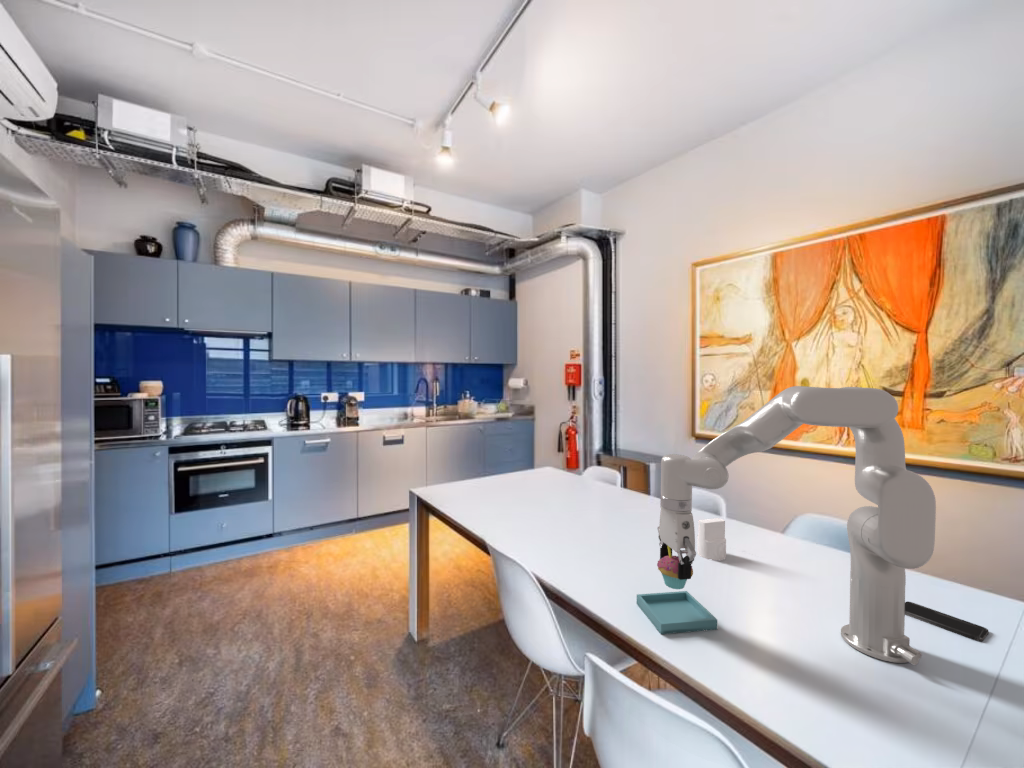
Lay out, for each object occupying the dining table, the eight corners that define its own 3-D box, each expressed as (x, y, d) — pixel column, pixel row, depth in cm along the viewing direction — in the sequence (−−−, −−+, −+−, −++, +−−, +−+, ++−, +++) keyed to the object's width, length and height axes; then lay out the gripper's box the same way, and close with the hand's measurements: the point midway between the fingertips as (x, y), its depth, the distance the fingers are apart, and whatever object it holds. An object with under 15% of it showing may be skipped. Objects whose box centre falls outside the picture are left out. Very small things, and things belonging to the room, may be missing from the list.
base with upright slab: (709, 561, 139) (710, 526, 138) (691, 550, 147) (691, 517, 147) (732, 558, 141) (732, 523, 141) (712, 548, 150) (713, 515, 150)
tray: (717, 629, 101) (717, 619, 101) (661, 634, 100) (661, 624, 99) (686, 599, 115) (686, 590, 115) (636, 603, 113) (636, 594, 113)
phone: (981, 639, 97) (896, 608, 109) (981, 644, 97) (896, 613, 110) (989, 629, 101) (907, 600, 114) (989, 633, 101) (907, 604, 114)
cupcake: (654, 588, 105) (655, 541, 105) (659, 573, 113) (660, 530, 113) (691, 596, 101) (692, 548, 101) (694, 581, 109) (694, 536, 109)
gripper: (709, 514, 99) (708, 586, 99) (672, 493, 116) (671, 555, 116) (680, 515, 98) (679, 588, 98) (646, 494, 115) (645, 556, 115)
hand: (674, 570), depth 107 cm, fingers closed on cupcake, 8 cm apart
